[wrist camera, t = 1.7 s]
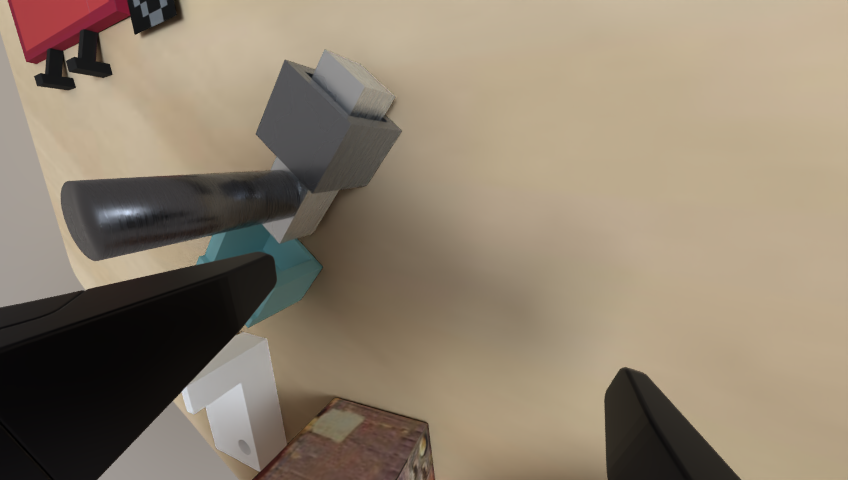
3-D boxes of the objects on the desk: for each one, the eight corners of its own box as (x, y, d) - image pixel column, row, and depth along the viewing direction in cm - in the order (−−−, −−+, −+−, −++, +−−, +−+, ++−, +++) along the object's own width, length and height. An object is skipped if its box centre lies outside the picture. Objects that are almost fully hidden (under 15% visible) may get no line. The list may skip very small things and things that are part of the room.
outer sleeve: (348, 80, 20) (284, 59, 16) (402, 130, 19) (351, 124, 15) (318, 138, 22) (255, 134, 18) (366, 185, 21) (312, 193, 17)
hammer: (360, 64, 18) (73, -56, 8) (395, 96, 18) (140, 15, 7) (287, 206, 24) (57, 247, 13) (313, 233, 23) (96, 299, 13)
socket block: (272, 212, 26) (211, 223, 22) (322, 267, 25) (269, 290, 21) (255, 247, 28) (195, 265, 24) (300, 299, 27) (248, 327, 23)
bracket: (223, 324, 34) (138, 365, 27) (269, 337, 31) (186, 386, 24) (246, 423, 37) (174, 482, 30) (289, 443, 34) (220, 513, 27)
